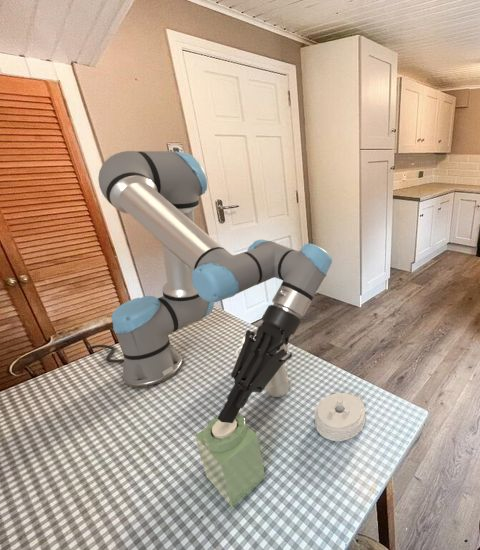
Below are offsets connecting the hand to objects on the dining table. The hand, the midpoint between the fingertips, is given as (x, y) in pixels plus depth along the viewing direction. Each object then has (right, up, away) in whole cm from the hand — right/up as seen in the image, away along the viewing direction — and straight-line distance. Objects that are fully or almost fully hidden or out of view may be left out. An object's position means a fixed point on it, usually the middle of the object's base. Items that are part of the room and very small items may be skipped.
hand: (224, 420), depth 58 cm
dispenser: (0, -15, +6) cm, 16 cm away
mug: (-8, -1, +40) cm, 41 cm away
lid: (+21, -10, +19) cm, 30 cm away
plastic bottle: (+2, -6, +29) cm, 29 cm away
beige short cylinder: (0, -4, +1) cm, 4 cm away
